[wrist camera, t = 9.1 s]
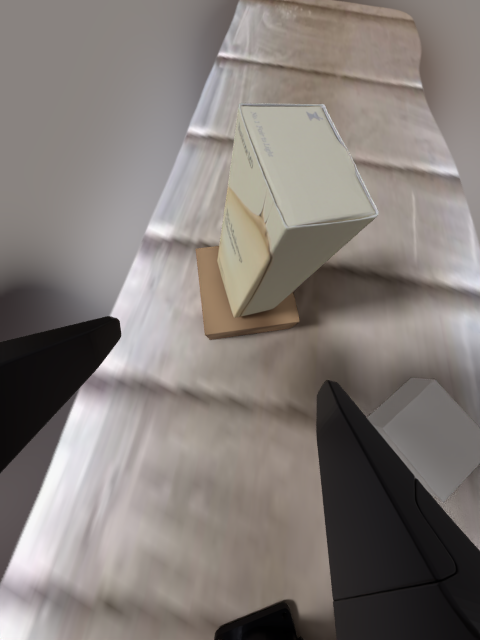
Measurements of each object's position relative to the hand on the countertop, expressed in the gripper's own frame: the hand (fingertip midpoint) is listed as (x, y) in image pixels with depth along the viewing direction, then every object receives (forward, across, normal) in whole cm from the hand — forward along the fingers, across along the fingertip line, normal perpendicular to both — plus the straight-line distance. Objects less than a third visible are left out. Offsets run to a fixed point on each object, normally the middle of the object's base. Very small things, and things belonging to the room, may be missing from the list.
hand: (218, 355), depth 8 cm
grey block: (+9, -20, +10) cm, 24 cm away
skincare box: (+12, 0, +2) cm, 12 cm away
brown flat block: (+15, +1, +4) cm, 16 cm away
